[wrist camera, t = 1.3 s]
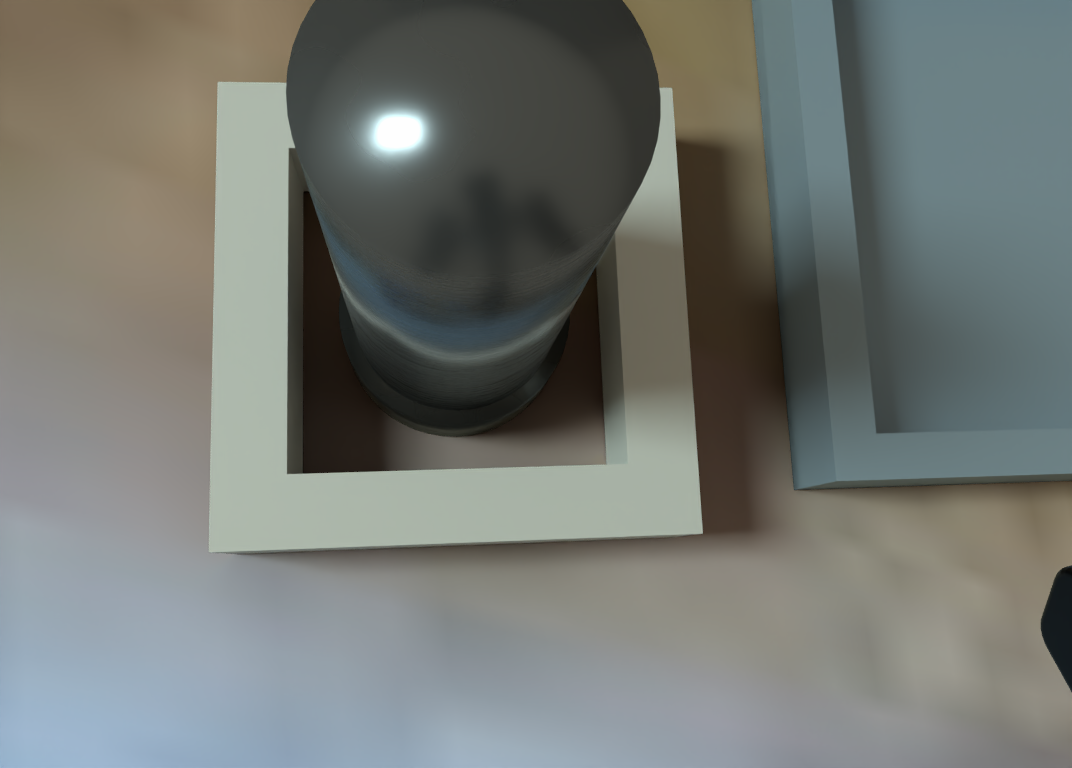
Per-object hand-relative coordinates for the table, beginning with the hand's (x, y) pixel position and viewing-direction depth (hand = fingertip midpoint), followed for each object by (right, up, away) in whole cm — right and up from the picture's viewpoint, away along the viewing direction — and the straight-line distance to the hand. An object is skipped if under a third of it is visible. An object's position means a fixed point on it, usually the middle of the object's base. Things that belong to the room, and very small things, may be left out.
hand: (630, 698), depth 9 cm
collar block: (-3, +4, +14) cm, 15 cm away
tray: (+12, +7, +16) cm, 21 cm away
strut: (-3, +4, +14) cm, 15 cm away
